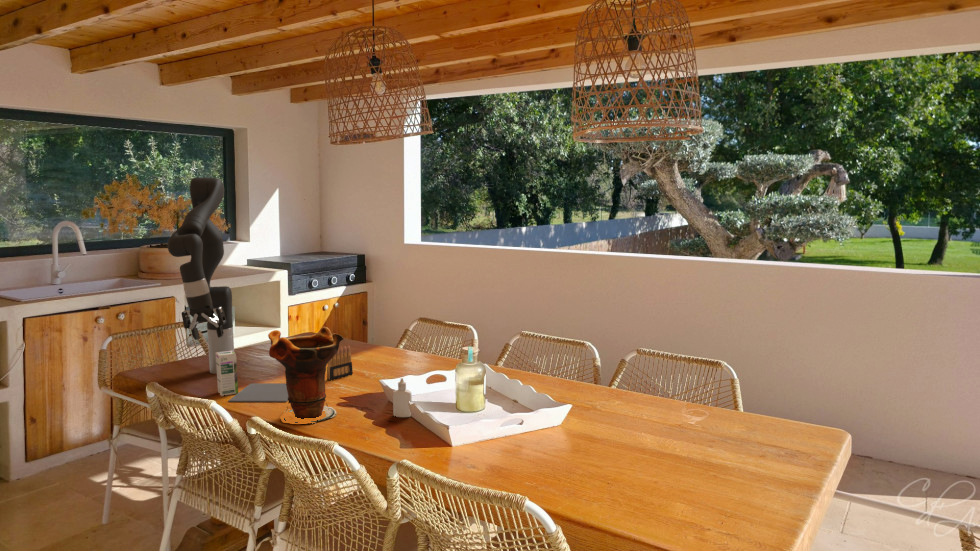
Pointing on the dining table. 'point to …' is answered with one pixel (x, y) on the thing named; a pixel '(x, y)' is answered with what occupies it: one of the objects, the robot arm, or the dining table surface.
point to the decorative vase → (306, 369)
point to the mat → (262, 393)
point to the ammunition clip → (340, 364)
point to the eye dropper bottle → (401, 400)
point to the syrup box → (227, 373)
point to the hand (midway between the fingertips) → (208, 337)
